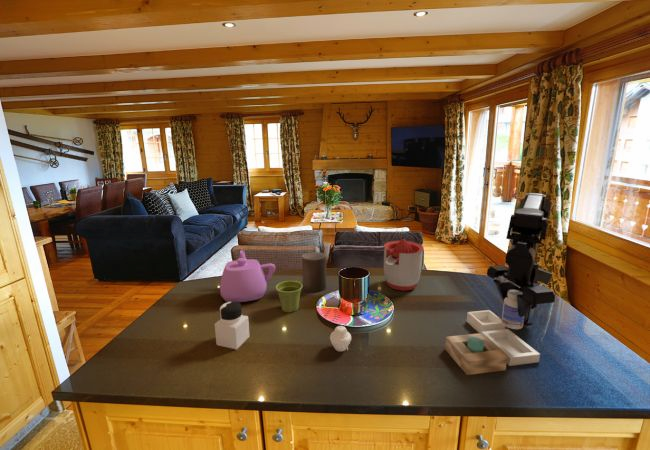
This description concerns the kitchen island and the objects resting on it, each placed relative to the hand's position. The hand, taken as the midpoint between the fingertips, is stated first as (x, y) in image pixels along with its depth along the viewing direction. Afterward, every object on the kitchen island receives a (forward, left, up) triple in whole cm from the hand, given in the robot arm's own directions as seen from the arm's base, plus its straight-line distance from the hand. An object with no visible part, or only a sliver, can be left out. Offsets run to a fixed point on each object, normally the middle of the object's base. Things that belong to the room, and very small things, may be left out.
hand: (513, 311), depth 91 cm
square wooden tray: (+12, +2, -12) cm, 17 cm away
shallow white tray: (0, 0, -12) cm, 12 cm away
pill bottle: (0, 0, -4) cm, 4 cm away
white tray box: (-1, -12, -12) cm, 17 cm away
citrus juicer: (+14, -46, -12) cm, 50 cm away
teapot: (+77, -49, -13) cm, 92 cm away
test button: (+12, +2, -11) cm, 16 cm away
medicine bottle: (+78, -18, -12) cm, 81 cm away
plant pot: (+60, -35, -12) cm, 71 cm away
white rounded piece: (+47, -9, -12) cm, 49 cm away
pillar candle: (+49, -51, -12) cm, 72 cm away
